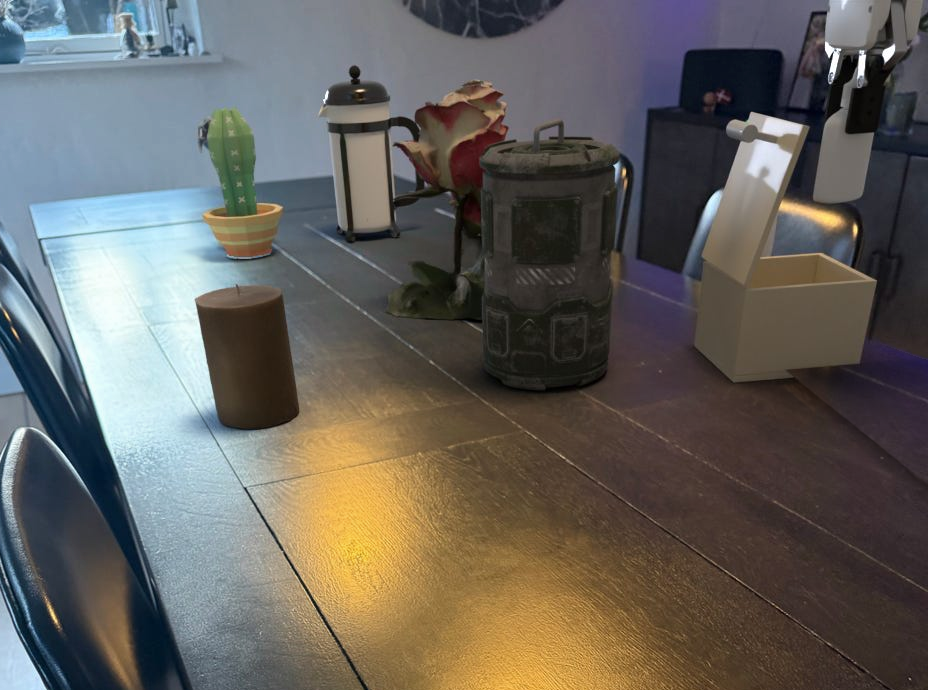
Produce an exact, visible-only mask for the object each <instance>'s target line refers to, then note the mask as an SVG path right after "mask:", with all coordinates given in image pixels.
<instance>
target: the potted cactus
mask: <svg viewBox="0 0 928 690" xmlns="http://www.w3.org/2000/svg"><path fill="white" fill-rule="evenodd" d="M195 139H196V142H197V146H198V149H199V153H200V154H202V153H203V147H204V149H205V150H207V151H209V152H208V153H209V156H210V160H211V163H212V165H213V167H214V169H215V171H216V174H217V176H218V179H219V185H220V189H221V192H222V197H223V200H224V205H222V206H219V207H214V208H210V209H207V210H205V211H204V212H203V213H202V214H201V217H202V219H203V221H204V223H205V224H207V225H208V226H209V228H210V230H211V232H212V234H213V237H214V238H215V240H216V241H217V242H218V243H219V244H220V246H222V247H223V249H224V250H225V251H226V252H225V253H226V254H228V255H229V256H234V257H253V256H258V255H264V254H267V253H270V252H271V251H272V252H273V249H272V244H273V243H274V240H275V238H276V236H277V234H278V229H279V222H280V219H281V218H282V217H283V214H284V212H283V211H284V207H283V206H281V205H279V204H277V203H263V202H257V194H256V183H255V168H256V167H255V166H256V160H257V155H256V146H255V145H256V144H255V135H254V131H253V130H252V129H251V127H250V125H249V123H248V122H247V120H246V119H245V118H244V117H243V115H242V114H241V112H240V111H239V110H238V109H237V107H233V108H231V109H228V108H226V107H223V108H222V109H220V110H219V109H217V108H215V109H214V110H213V112H212V115H211V116H210V115H207V116H205V117H204V118H202V120H201V121H200V122H199V124H198V126H197V130H196V136H195ZM226 254H225V255H226Z"/></svg>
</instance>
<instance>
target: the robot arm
mask: <svg viewBox="0 0 928 690" xmlns="http://www.w3.org/2000/svg"><path fill="white" fill-rule="evenodd" d="M923 1H924V0H828V7H827V11H826V12H827V13H826V19H825V20H826V21H825V29H824V30H825V31H824V40H825V45H824V50H825V52H826V54H827V58H828V63H829V67H830V68H829V73H828V77H827V82H828V84H829V85H828V92H827V97H826V105H825V109H824V110H825V112H824V117H823V124H822V126H823V128H824V127H825V123H826V121H827V120H828V119H829V118H830V117H831V116H832V115H833V114H835V113H836V112H838V111H839V110H840V109H841V108H843V107H841V100H842V94H843V88H844V85H845V84H846V83H848V82H850V81H851V80H852V78H853V75H854V72H855V70H856V68H858V77H857V87H858V88H852V91H851V97H850V103H849V109H848V115H847V121H846V127H845V132H846V133H847V134H862V133H874V134H875V133H876V132H878V130H879V126H880V119H881V114H882V108H883V103H884V98H885V93H886V87H888V85H889V84H890V82H891V74H892V72H893V71H894V69H895V68H896V65H897V63H898V62H899V61H900V60H901V59H902V58H904V56H905V55H906V53H907V51H908V47H910V46H911V45H912V44H913V43H914V42H915V41H916V38H917V35H918V31H919V26H920V21H921V14H922V9H923V8H922V7H923ZM874 47H876V48H874ZM852 56H853V57H852ZM871 58H874V60H873V61H872V62H871Z"/></svg>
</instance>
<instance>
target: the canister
mask: <svg viewBox="0 0 928 690" xmlns="http://www.w3.org/2000/svg"><path fill="white" fill-rule="evenodd" d="M564 124H565V123H564V120H563V119H562V118H556V119H553V120H548V121H546V122H542V123H540V124H537V125H536V126H535V127H534V131H533V140H525V141H524V140H523V141H517V139H516V138H513V139H507V140H505V141H502V142H497V143H494V144H491V145H489V146H487V147H486V148H485V149H484V151H483V154H482V156H481V157H480V158H479V164H480V167H481V168H482V169H484V170H485V171H484V172H483V187H482V188H481V223H482V251H483V253H484V257H485V289H484V293H483V296H482V320H481V321H482V322H481V325H482V327H481V328H482V355H483V367H484V369H485V371H486V372H487V373H488V374H490V375H491V376H493V377H495V378H497V379H498V380H500V381H501V383H502V385H504V386H506V387H510V388H515V389H520V390H527V391H544V392H545V391H546V389H548V388H558V387H568V386H573V385H576V387H581V386H585V385H587V384H589V383H591V382H594V381H596V380H598V379H600V377H602V376H603V375H604V373H605V372H606V370H607V369H608V366H609V356H610V346H611V345H610V344H611V330H612V329H611V325H612V311H613V310H612V309H613V293H614V291H613V289H614V282H613V280H612V279H611V265H612V264H611V263H612V252H613V251H614V249H615V246H616V245H615V243H616V225H617V224H616V223H617V206H618V192H619V191H618V190H619V189H618V188H619V186H618V183H617V182H616V171H617V169H616V167H615V165H617V164H618V163H619V162H620V155H621V154H620V152H619V150H618V149H617V147H616V146H615V145H614V144H612V143H610V144H609V143H607V142H604V141H599V140H595V139H594V138H593V137H591V136H575V135H574V136H571V135H568V136H565V125H564ZM555 127H557V129H558V130H557V136H556V135H555V136H548V139H540V133H541V132H542V131H544V130H548V129H551V128H555Z"/></svg>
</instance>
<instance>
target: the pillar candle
mask: <svg viewBox="0 0 928 690" xmlns="http://www.w3.org/2000/svg"><path fill="white" fill-rule="evenodd" d="M194 303H195V306H196V307H195V308H196V313H197V318H198V323H199V327H200V334H201V339H202V342H203V343H202V344H203V348H204V354H205V359H206V360H205V361H206V365H207V369H208V376H209V380H210V381H209V382H210V385H211V389H212V390H211V391H212V395H213V400H214V406H215V411H216V416H217V418H218V421H219V422H220V424H222V425H224V426H226V427H230V428H238V429H245V430H253V429H254V430H256V429H265V428H268V427H269V428H270V427H273V426H277V425H280V424H283V423H287V422H289V421H291V420H293V419H294V418H295V417H296V416H297V415H298V414H299V413H300V404H299V397H298V388H297V384H296V383H297V382H296V376H295V369H294V362H293V356H292V355H293V354H292V349H291V343H290V336H289V329H288V322H287V316H286V308H285V302H284V295H283V291H282V290H281V289H280V288H278V287H277V286H271V285H263V284H249V285H239V284H238V283H235V286H230V287H225V288H224V287H223V288H219V289H214V290H211V291H209V292H205V293H203V294H201V295H199V296H197V297H195V298H194Z"/></svg>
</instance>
